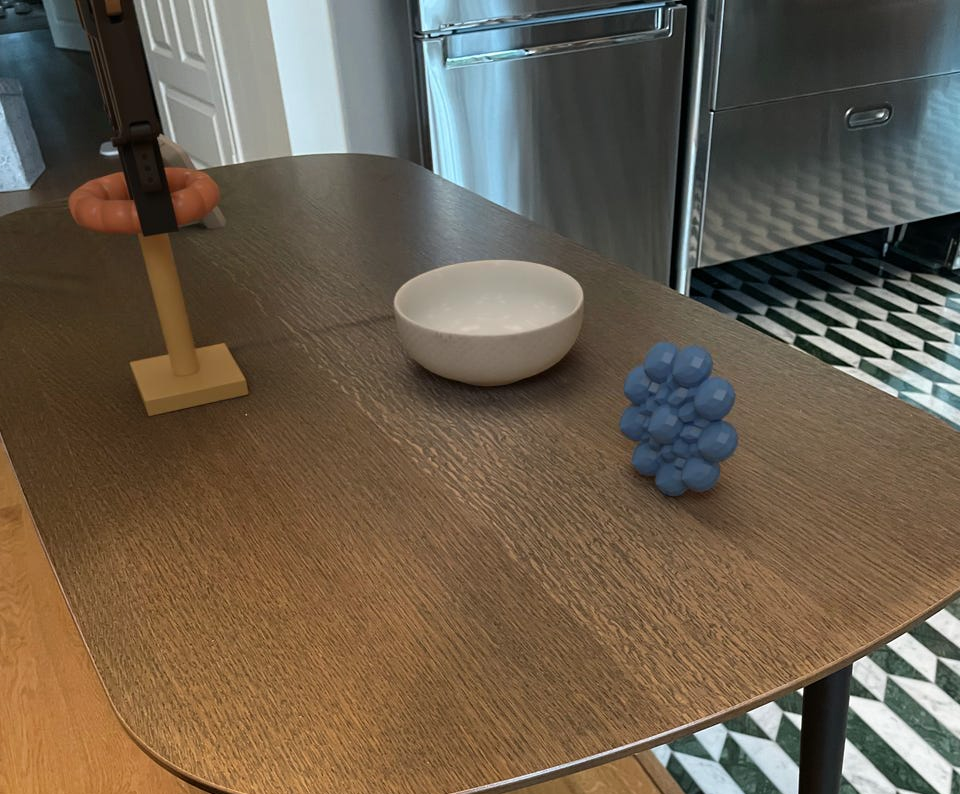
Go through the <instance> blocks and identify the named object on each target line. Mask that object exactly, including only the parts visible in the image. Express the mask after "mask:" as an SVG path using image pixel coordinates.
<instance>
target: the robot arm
mask: <svg viewBox="0 0 960 794" xmlns="http://www.w3.org/2000/svg"><path fill="white" fill-rule="evenodd" d="M73 3H74V6H75V11H76V15H77V19H78V22H79V24H80V26H81V28H82V29H83V30H84V33H85V35H86V40H87V43H88V47H89V50H90V55H91V59H92V62H93V66H94V70H95V73H96V74H95V75H96V77H97V81H98V85H99V89H100V92H101V97H102V100H103V106H102V107H103V110H104V112H105V114H106V115H107V117H108V122H109V124H110V127H112V130H113V131H114V132H115V133H113V137H110V142H111V145H112V148H114V149H115V148H116V149H117V154H118V158H119V161H120V162H119V163H120V165H121V170H122V172H123V173H124V177H125V181H126V185H127V189H128V193H129V197H130V200H134V203H135V207H136V211H137V215H138V218H139V222H140V226H141V230H142V234H143V236H144V237H147V236H152V235H158V234H164V233H168V234H169V233H170V234H171V233H175V232H179V231H180V230H179V227H178V224H177V220H176V216H175V211H174V207H173V203H172V198H171V194H170V190H169V185H168V181H167V177H166V172H165V168H164V164H163V159H162V155H161V151H160V146H159V142H158V140H157V137H160V134H161V127H160V123H158V121H157V116H156V111H155V107H154V101H153V98H152V93H151V89H150V88H151V87H150V85H149V79H148V75H147V70H146V66H145V61H144V57H143V51H142V47H141V42H140V38H139V33H138V29H137V28H138V23H137V17H136V13H135V10H134V5H133V1H132V0H73ZM117 131H118V132H117Z"/></svg>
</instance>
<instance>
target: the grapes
mask: <svg viewBox="0 0 960 794" xmlns="http://www.w3.org/2000/svg"><path fill="white" fill-rule="evenodd" d="M713 367H714V361H713V357H712V355H711V353H710V352H709V351H708V350H707V349H706V348H705V347H703V346H700V345H697V344H693V345H692V344H691V345H688V346H684V348H683V349H680V348H679V347H678V346H677V345H676V344H675V343H673V342H671V341H667V340H665V341H659V342H656V343H655V344H654V345H652V346H651V347H650V349H648V351H647V353H646V355H645V357H644V361H643V364H642V365H641V364H640V365H636V366H635V367H633V368H632V369H631V370H630V371H629V372H628V373H627V376H626V377H625V379H624V381H623V387H622V388H623V390H622V391H623V394H624V396H625V398H626V399H627V400H628V401H629V402H630V403H631V404H629V405H628V406H627V407H626V408H624V410H623V412H622V413H621V416H620V418H619V422H618V429H619V432H620V433H621V434H622V435H623V436H624V437H625V438H626V439H627V440H629V441H632V442H634V443H637V442H639V443H637V444H636V446H635V448H634V450H633V452H632V454H631V460H630V461H631V466H632V467H633V469H634V470H635V471H636V472H637V473H638V474H639V475H642V476H645V477H649V478H650V477H655V479H654V481H655V486H656V488H657V489H658V490H659V491H660V493H662V494H663V493H664V494H663V495H666V494H667V495H666V496H669V497H671V496H672V497H679V495H680V496H682V495H683V494H684V493H686V492H687V491H688V490H691V491H694V492H696V493H701V492H702V493H703V492H707V491H709V490H710V489H712V488H713V487H714V486H716V484H717V482H718V481H719V479H720V478H721V477H720V476H721V470H722V468H721V464H720V463H722V462H725V461H727V460H728V459H729V458H731V457H732V456H733V455H734V453H735V452H736V449H737V447H738V445H739V434H738V432H737V429H736V428H735V427H734V425H732V424H731V423H730V422H728V421H725V420H723V419H724V418H725V417H727V416H728V415H729V414H730V413H731V411H732V410H733V407H734V405H735V403H736V399H737V398H736V397H737V393H736V390H735V387H734V385H733V384H732V383H731V382H730V381H729V379H726V378H723V377H720V376H713V377H710V376H711V374H712V372H713Z"/></svg>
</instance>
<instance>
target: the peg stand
mask: <svg viewBox="0 0 960 794" xmlns="http://www.w3.org/2000/svg"><path fill="white" fill-rule="evenodd" d="M137 237H138V240H139V244H140V249H141V253H142V256H143V261H144V265H145V269H146V272H147V276H148V280H149V285H150V288H151V291H152V296H153V300H154V304H155V307H156V311H157V316H158V319H159V323H160V327H161V330H162V335H163V338H164V342H165V343H164V344H165V347H166V351H167V354H163V355H158V356H154V357H149V358H143V359H138V360H133V361H130V362H129V366H130V369H131V373H132V377H133V379H134V381H135V382H134V383H135V385H136V387H137V390H138V393H139V395H140V398H141V400H142V402H143V403H142V404H143V405H144V408H145V412H146V413H147V415H148V417H152V416H157V415H160V414H161V415H162V414H165V413H170V412H174V411H180V410H184V409H189V408H193V407H198V406H203V405H206V404H212V403H215V402H216V403H217V402H220V401H221V402H222V401H224V400H229V399H235V398H238V397H239V398H240V397H243V396H247V395H250V393H249V388H248V383H247V379H246V377H245V376H244V374H243V372H242V371H241V369H240V367H239V365H238V364H237V362H236V360H235V359H234V356H233V355H232V353H231V352H230V350H229V348H228V346H227V344H226V343H225V342H222V343H217V344H213V345H212V344H211V345H208V346H202V347H197V348H196V347H195V343H194V339H193V333H192V329H191V326H190V321H189V318H188V312H187V309H186V304H185V300H184V297H183V291H182V287H181V283H180V279H179V275H178V270H177V265H176V262H175V257H174V254H173V250H172V246H171V245H172V244H171V241H170V236H169V233H164V234H158V235H152V236H147V237H144V236H143V234H142V233H137Z"/></svg>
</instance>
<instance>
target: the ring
mask: <svg viewBox="0 0 960 794" xmlns="http://www.w3.org/2000/svg"><path fill="white" fill-rule="evenodd" d="M196 170H197V169H196ZM196 170H191V169H185V168H178V167H175V168H165V172H166V177H167V181H168V185H169V190H170V194H171V198H172V203H173V207H174V211H175V216H176V220H177V224H178V228H180V227H179V226H182V225H185V224H188V223H190V222H193V221H196V220H199V219H201V218H204V217H205V216H206V215H208V214H209V213H210V212H211V211H212V210H213V209H214V208H215V207H216V206H218V205H219V203H220V200H221V190H220V188H219V186H218V184H217V183H216V182H215V181H214V180H213V179H212V177H210V175H209V174H208V173H206V172H203V171H201V170H197V171H196ZM68 208H69V211H70V214H71V215H72V218H73V220H74V221H75V223H76V224H77V225H78V226H80V227H81V228H83V229H87V230H91V231H95V232H99V233H103V234H109V235H118V234H119V235H121V234H122V235H123V234H124V235H125V234H126V235H128V234H129V235H131V234H138V233H142V230H141V226H140V222H139V218H138V215H137V211H136V207H135V203H134V200H130V197H129V193H128V189H127V185H126V181H125V177H124V173H123V171H120V172H115V173H110V174H107V175H105V176H101V177H97V178H95V179H92V180H88V181H86V183H84V184H82V185H81V186H79V187H78V188H76V189H75V190H74V191H72V192H71V193H70V195H69V197H68Z"/></svg>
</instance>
